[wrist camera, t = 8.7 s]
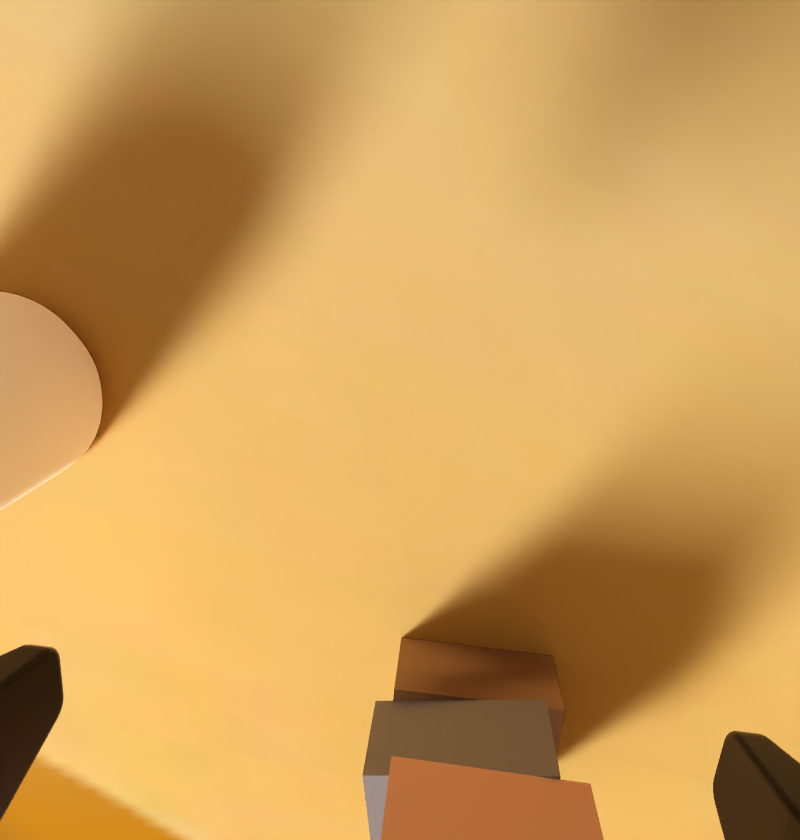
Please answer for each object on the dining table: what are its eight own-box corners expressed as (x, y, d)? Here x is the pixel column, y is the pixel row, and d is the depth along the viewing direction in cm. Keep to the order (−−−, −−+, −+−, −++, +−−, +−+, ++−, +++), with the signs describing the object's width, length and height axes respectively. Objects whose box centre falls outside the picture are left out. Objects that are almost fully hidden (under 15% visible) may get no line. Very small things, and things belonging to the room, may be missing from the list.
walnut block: (552, 651, 23) (564, 710, 20) (531, 770, 25) (540, 841, 22) (402, 633, 24) (394, 689, 21) (391, 752, 25) (382, 819, 22)
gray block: (545, 699, 20) (560, 776, 18) (549, 833, 22) (562, 924, 19) (375, 700, 21) (362, 775, 18) (390, 831, 23) (380, 918, 20)
